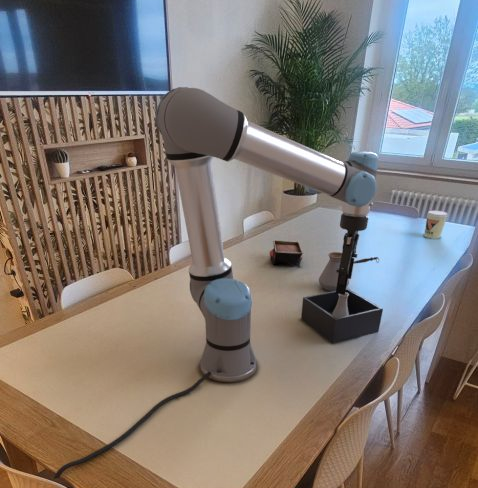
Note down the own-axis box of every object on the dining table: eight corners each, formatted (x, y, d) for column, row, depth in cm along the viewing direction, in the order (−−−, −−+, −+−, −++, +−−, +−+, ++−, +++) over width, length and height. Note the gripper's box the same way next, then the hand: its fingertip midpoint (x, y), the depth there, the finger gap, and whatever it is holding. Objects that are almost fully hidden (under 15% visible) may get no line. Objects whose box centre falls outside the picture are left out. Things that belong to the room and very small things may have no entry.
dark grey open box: (332, 343, 130) (335, 319, 126) (300, 319, 144) (302, 297, 139) (378, 331, 137) (383, 308, 132) (344, 310, 150) (347, 288, 146)
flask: (351, 329, 136) (355, 299, 131) (327, 326, 137) (331, 297, 132) (350, 319, 142) (355, 290, 137) (328, 316, 143) (332, 288, 138)
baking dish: (302, 261, 198) (302, 238, 194) (303, 268, 181) (303, 244, 177) (270, 262, 199) (269, 239, 195) (269, 270, 183) (268, 245, 179)
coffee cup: (418, 235, 227) (423, 211, 220) (431, 233, 230) (437, 209, 224) (432, 240, 220) (438, 215, 213) (445, 237, 223) (452, 213, 216)
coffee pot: (312, 288, 166) (316, 250, 157) (326, 279, 173) (330, 242, 165) (365, 302, 155) (373, 262, 147) (377, 292, 163) (385, 253, 155)
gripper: (364, 226, 110) (350, 303, 122) (372, 205, 130) (360, 273, 142) (334, 222, 112) (324, 299, 124) (347, 203, 132) (337, 270, 144)
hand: (343, 285), depth 133 cm, fingers open, 13 cm apart
